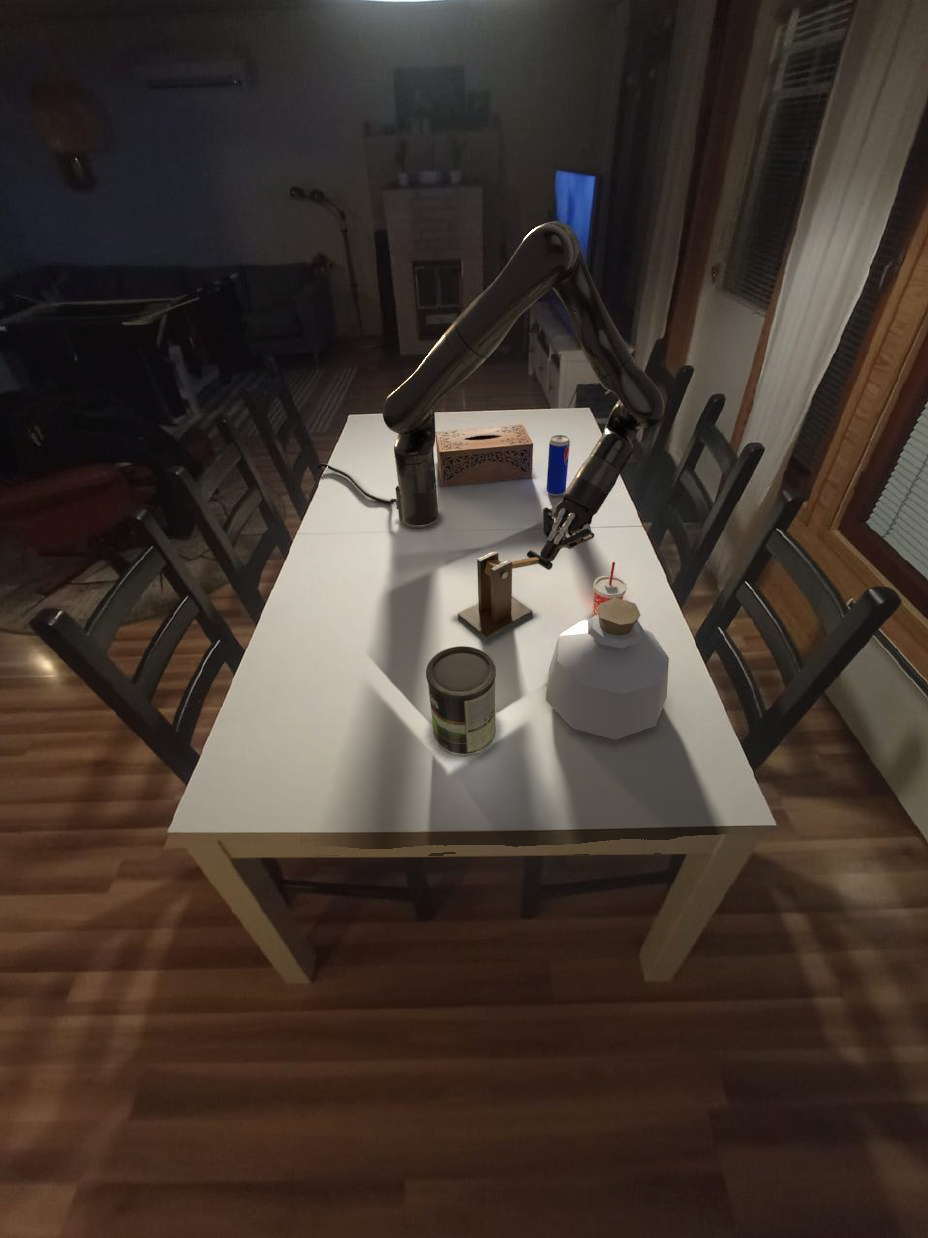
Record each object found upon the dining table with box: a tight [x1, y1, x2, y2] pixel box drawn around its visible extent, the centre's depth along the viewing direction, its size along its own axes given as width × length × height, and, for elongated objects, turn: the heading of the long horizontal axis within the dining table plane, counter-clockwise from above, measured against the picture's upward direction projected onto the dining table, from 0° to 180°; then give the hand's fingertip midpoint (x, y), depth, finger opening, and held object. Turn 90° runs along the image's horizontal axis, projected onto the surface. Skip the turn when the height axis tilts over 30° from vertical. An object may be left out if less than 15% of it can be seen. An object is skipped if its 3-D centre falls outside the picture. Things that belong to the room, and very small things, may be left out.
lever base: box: [457, 550, 533, 639], centre depth 108 cm, size 12×9×14 cm
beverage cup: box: [592, 561, 628, 617], centre depth 105 cm, size 6×6×14 cm
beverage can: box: [546, 434, 571, 497], centre depth 147 cm, size 5×5×15 cm
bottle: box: [545, 598, 670, 740], centre depth 89 cm, size 20×20×19 cm
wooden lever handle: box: [484, 550, 554, 577], centre depth 108 cm, size 14×6×2 cm, turn 127°
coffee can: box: [425, 645, 497, 757], centre depth 86 cm, size 10×10×14 cm
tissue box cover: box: [435, 423, 534, 487], centre depth 160 cm, size 26×14×10 cm, turn 97°
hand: (544, 560), depth 113 cm, fingers closed
